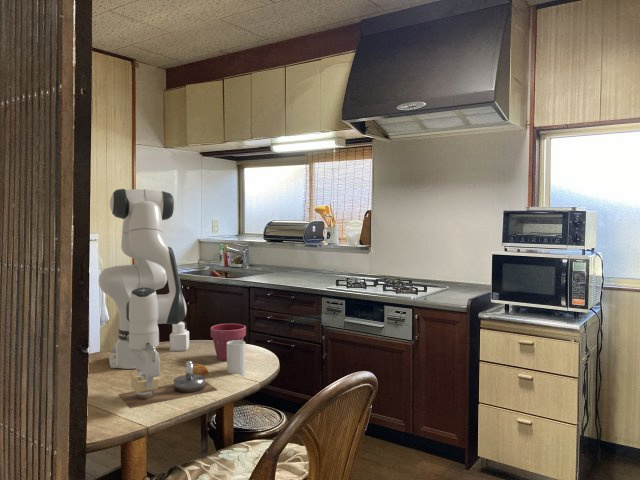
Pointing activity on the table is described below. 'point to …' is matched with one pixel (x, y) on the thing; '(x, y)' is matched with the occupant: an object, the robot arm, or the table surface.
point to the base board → (160, 395)
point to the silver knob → (144, 392)
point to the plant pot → (226, 337)
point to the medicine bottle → (179, 337)
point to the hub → (189, 381)
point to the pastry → (200, 370)
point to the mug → (236, 357)
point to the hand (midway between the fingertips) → (144, 383)
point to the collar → (143, 384)
